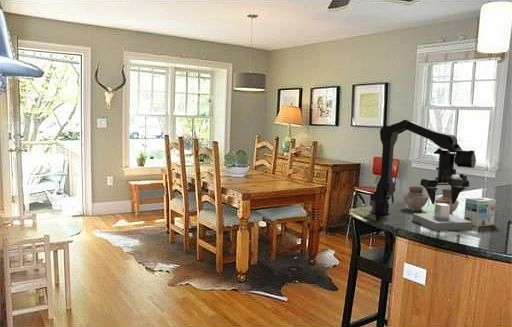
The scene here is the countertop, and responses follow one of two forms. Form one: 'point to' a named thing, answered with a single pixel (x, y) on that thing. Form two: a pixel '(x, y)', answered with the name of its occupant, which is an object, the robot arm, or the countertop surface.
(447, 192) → the pottery
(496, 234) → the countertop surface
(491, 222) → the light bulb box
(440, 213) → the beige rectangular block
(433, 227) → the square nut plate
